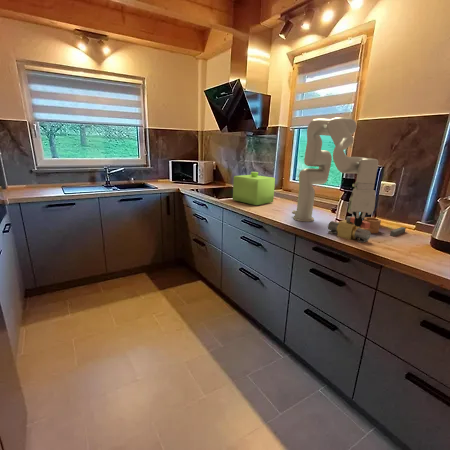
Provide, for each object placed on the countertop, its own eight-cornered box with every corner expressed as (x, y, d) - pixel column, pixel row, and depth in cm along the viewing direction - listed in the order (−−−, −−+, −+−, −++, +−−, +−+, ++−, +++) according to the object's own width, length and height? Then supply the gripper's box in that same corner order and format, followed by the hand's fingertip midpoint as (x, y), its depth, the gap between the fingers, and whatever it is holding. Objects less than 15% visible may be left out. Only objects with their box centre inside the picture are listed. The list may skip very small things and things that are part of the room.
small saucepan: (370, 228, 157) (372, 217, 155) (381, 233, 150) (384, 220, 148) (343, 229, 153) (345, 217, 151) (354, 234, 145) (356, 222, 143)
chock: (389, 235, 145) (390, 231, 145) (400, 231, 154) (401, 226, 153) (393, 236, 144) (394, 231, 143) (404, 231, 152) (405, 227, 151)
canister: (232, 199, 223) (233, 171, 216) (249, 197, 237) (251, 170, 231) (256, 205, 206) (258, 174, 199) (273, 201, 221) (275, 172, 214)
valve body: (326, 232, 146) (328, 218, 143) (333, 230, 150) (335, 216, 148) (363, 244, 131) (366, 228, 128) (370, 241, 135) (373, 225, 132)
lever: (344, 220, 139) (345, 215, 138) (350, 220, 140) (351, 215, 139) (363, 229, 126) (364, 223, 125) (370, 228, 126) (371, 223, 126)
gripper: (350, 187, 119) (343, 227, 124) (385, 188, 118) (377, 229, 124) (344, 184, 126) (338, 222, 132) (377, 186, 125) (370, 224, 131)
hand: (357, 225), depth 128 cm, fingers closed
